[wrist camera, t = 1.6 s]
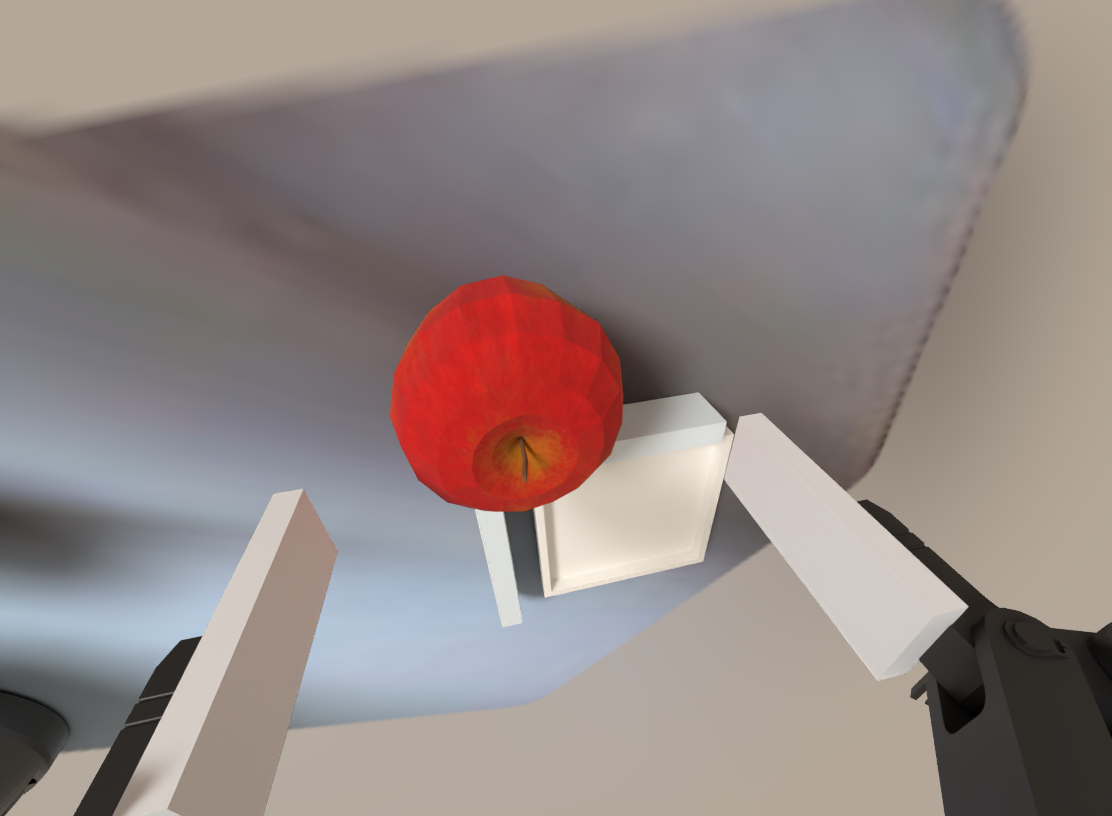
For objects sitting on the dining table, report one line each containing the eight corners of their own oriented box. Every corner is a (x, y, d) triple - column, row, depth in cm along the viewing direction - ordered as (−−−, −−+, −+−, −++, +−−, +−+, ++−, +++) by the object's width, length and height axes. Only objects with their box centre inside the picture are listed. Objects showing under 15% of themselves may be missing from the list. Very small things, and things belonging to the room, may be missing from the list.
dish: (540, 578, 36) (544, 597, 34) (526, 453, 28) (530, 471, 26) (693, 544, 38) (703, 561, 36) (720, 419, 30) (734, 434, 28)
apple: (438, 418, 25) (430, 603, 15) (377, 269, 20) (306, 405, 10) (586, 380, 26) (669, 533, 16) (564, 228, 21) (669, 315, 11)
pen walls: (495, 587, 35) (499, 627, 32) (460, 431, 26) (461, 468, 23) (671, 549, 38) (690, 583, 35) (698, 392, 28) (726, 421, 25)
